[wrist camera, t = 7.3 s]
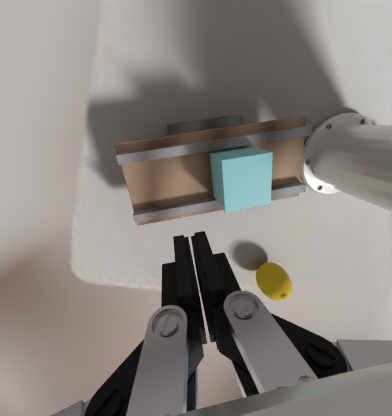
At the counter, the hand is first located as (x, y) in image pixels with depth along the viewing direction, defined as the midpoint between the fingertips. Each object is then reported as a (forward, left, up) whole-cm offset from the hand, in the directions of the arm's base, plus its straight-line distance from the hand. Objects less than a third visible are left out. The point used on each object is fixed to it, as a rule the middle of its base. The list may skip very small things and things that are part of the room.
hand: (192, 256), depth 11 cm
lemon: (-15, +22, -21) cm, 34 cm away
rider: (-7, 0, -14) cm, 16 cm away
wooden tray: (-6, 0, -21) cm, 21 cm away
